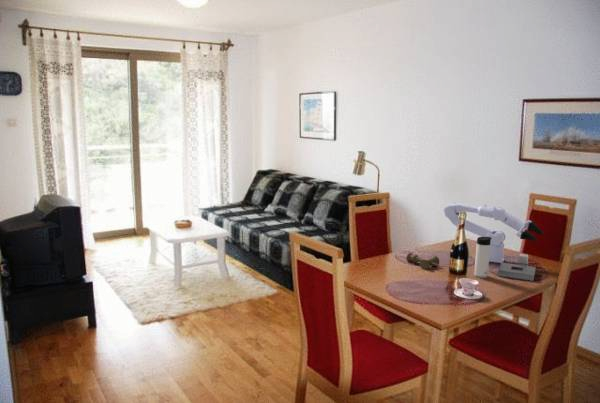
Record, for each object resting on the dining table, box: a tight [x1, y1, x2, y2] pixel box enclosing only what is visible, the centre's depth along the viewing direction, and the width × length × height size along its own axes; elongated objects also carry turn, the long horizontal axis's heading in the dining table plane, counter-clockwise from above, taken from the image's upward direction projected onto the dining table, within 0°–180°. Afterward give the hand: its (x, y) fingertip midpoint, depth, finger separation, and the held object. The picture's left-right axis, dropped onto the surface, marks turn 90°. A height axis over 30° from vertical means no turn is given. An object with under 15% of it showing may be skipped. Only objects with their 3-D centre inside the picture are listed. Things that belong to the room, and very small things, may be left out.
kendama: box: [406, 252, 440, 271], centre depth 256 cm, size 6×10×20 cm
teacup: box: [453, 277, 483, 300], centre depth 217 cm, size 12×12×6 cm
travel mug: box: [473, 236, 492, 279], centre depth 239 cm, size 6×7×20 cm
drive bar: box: [518, 253, 529, 266], centre depth 253 cm, size 4×4×7 cm
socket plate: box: [497, 262, 536, 282], centre depth 244 cm, size 16×14×3 cm
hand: (539, 236), depth 251 cm, fingers open, 7 cm apart
